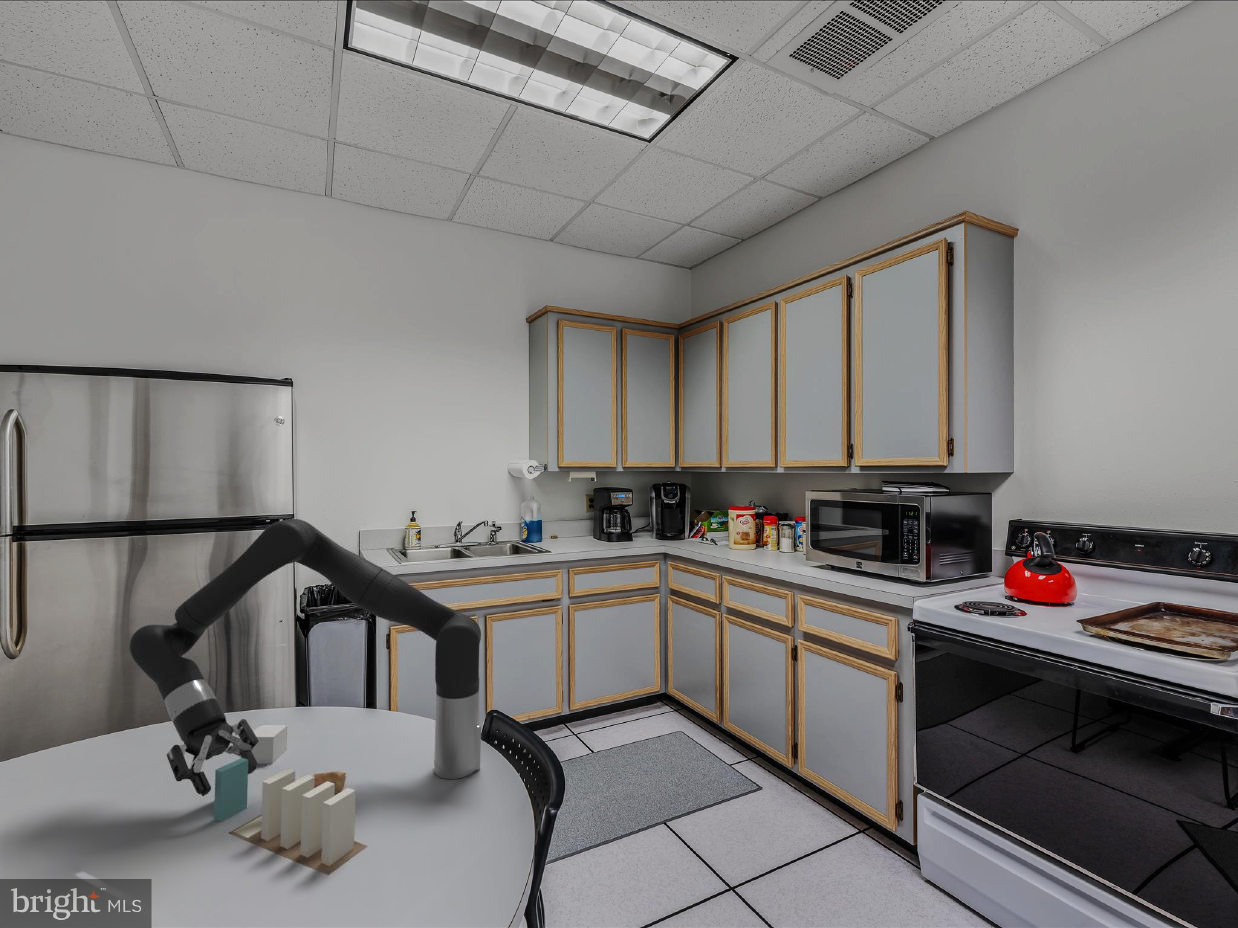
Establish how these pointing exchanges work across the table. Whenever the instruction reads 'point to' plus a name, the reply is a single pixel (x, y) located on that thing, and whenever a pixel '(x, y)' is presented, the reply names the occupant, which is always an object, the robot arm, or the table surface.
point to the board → (253, 835)
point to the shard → (331, 780)
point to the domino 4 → (338, 826)
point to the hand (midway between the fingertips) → (230, 781)
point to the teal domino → (231, 789)
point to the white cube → (270, 743)
